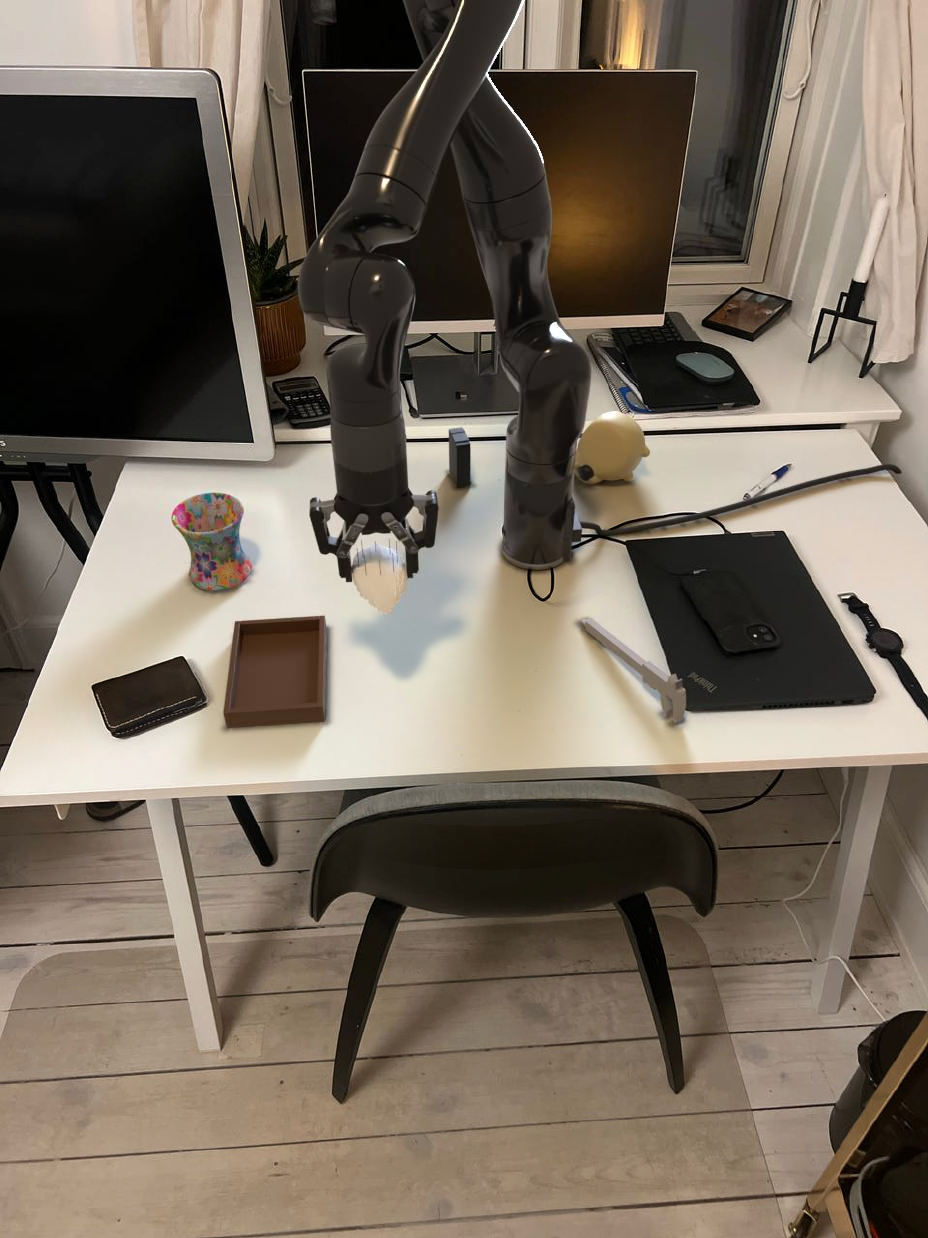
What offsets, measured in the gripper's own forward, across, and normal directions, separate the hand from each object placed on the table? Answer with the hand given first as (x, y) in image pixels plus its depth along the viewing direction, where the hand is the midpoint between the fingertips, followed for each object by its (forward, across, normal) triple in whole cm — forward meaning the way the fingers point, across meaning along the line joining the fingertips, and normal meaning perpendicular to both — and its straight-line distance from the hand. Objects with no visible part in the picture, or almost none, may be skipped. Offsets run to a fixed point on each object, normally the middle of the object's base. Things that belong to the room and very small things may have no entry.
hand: (379, 575), depth 109 cm
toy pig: (+16, +36, +40) cm, 56 cm away
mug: (+15, -22, +22) cm, 35 cm away
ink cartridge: (+15, +13, +41) cm, 46 cm away
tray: (+15, -13, 0) cm, 20 cm away
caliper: (+16, +30, -3) cm, 34 cm away
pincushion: (+1, 0, 0) cm, 1 cm away
